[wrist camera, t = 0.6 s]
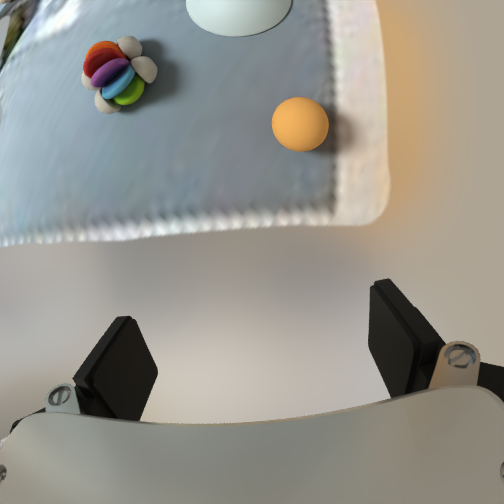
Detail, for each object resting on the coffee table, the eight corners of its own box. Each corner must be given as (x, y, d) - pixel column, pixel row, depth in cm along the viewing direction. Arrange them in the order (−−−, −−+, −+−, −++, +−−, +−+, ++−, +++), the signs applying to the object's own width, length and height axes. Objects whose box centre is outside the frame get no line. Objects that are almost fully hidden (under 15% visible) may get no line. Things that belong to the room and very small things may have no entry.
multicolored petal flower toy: (135, 33, 26) (110, 14, 19) (169, 82, 29) (148, 69, 22) (86, 74, 28) (55, 65, 21) (116, 124, 30) (86, 122, 24)
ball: (265, 105, 30) (267, 97, 24) (316, 98, 29) (328, 89, 24) (276, 154, 32) (280, 157, 26) (325, 146, 31) (340, 148, 26)
